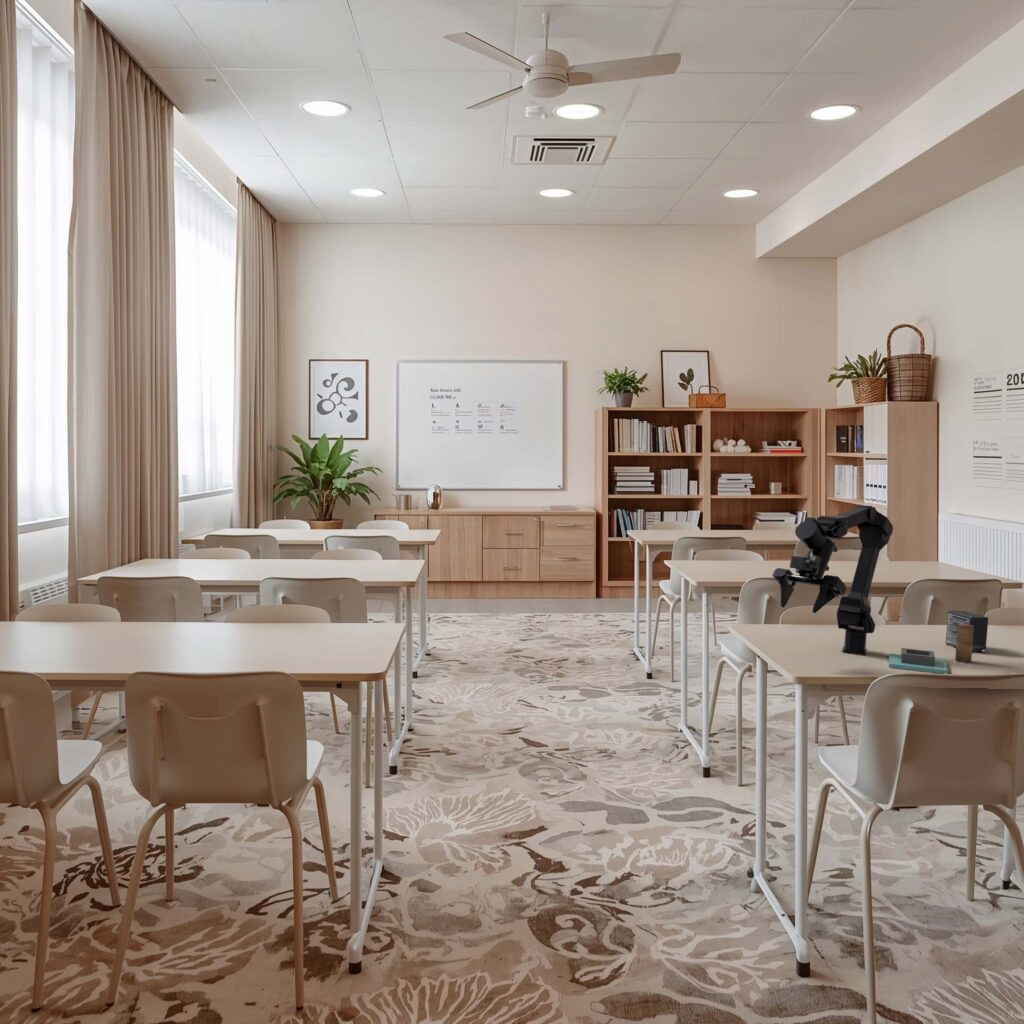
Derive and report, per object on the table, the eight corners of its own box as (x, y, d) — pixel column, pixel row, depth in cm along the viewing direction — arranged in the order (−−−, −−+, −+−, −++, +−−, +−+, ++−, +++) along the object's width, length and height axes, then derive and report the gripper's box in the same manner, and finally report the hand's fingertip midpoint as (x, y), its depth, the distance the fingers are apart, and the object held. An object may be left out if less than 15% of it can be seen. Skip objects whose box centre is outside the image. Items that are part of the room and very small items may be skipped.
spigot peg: (954, 658, 251) (957, 623, 250) (970, 660, 249) (973, 625, 249) (955, 661, 247) (958, 625, 246) (971, 663, 246) (974, 627, 245)
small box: (987, 652, 261) (990, 616, 260) (967, 652, 260) (970, 616, 259) (963, 644, 272) (966, 610, 271) (944, 644, 271) (946, 610, 270)
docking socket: (888, 657, 250) (889, 644, 250) (944, 663, 245) (945, 650, 244) (888, 667, 237) (889, 654, 237) (947, 674, 232) (948, 661, 231)
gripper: (773, 539, 241) (752, 589, 236) (838, 546, 227) (817, 600, 222) (792, 559, 247) (771, 609, 243) (855, 568, 233) (835, 621, 229)
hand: (797, 609), depth 234 cm, fingers open, 9 cm apart
